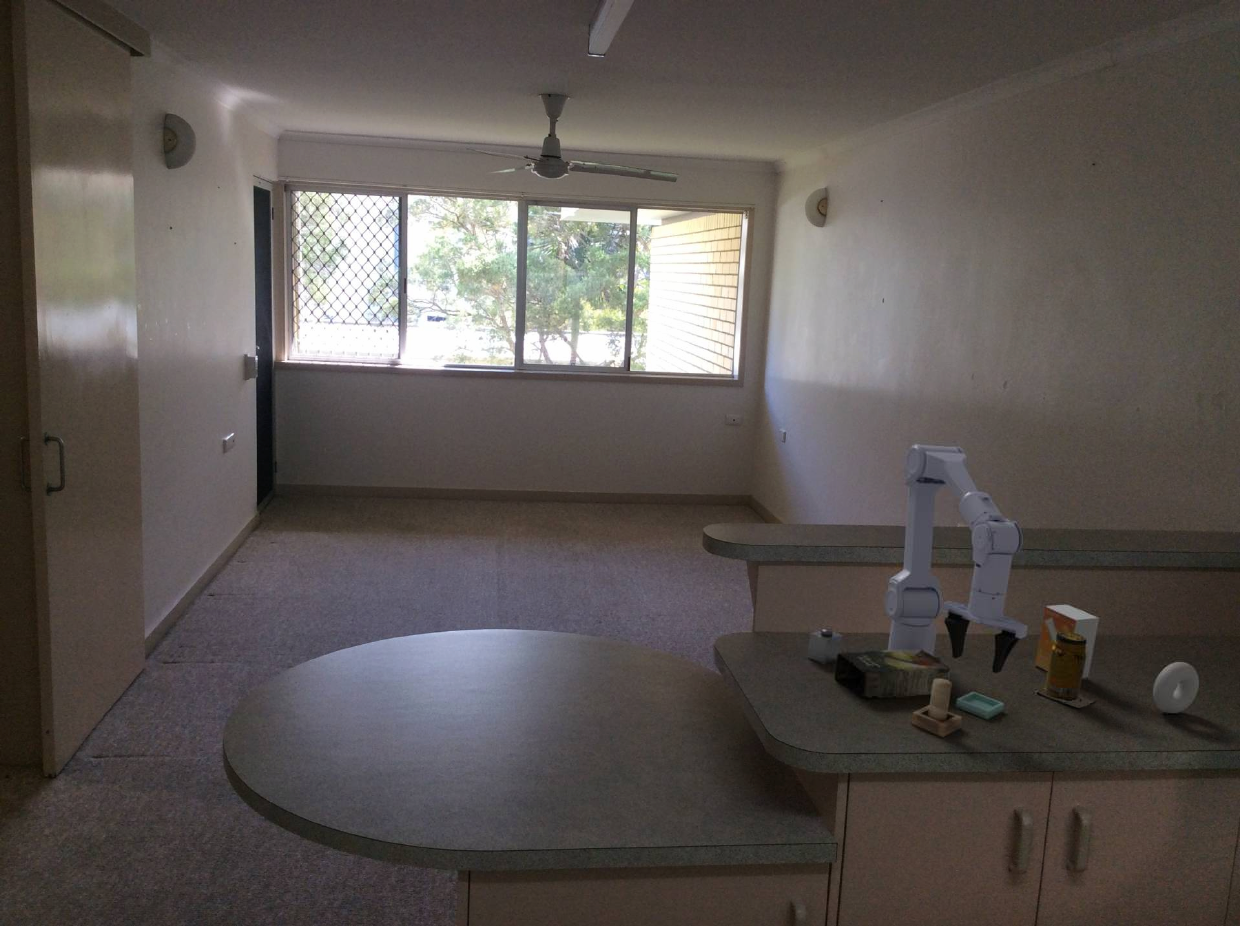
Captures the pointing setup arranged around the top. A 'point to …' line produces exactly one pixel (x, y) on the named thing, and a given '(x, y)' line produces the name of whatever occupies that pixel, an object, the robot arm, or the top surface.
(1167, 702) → the grey round disc
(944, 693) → the dowel
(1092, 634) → the small box
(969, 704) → the tray
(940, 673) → the juice carton
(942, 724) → the socket
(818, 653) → the stop block
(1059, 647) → the condiment
